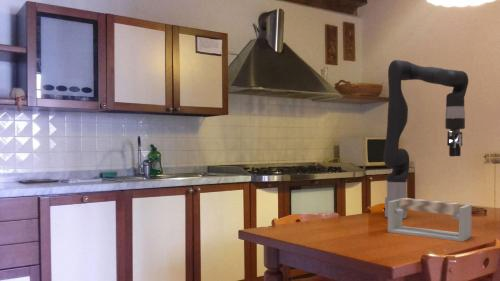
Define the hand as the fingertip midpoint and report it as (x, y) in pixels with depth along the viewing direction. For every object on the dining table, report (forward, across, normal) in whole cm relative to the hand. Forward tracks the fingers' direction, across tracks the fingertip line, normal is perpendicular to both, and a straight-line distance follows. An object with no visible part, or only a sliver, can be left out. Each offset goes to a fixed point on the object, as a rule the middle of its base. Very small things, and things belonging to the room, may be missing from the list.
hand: (454, 156), depth 198 cm
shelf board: (+21, +22, -4) cm, 31 cm away
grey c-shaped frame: (+30, +22, -4) cm, 37 cm away
